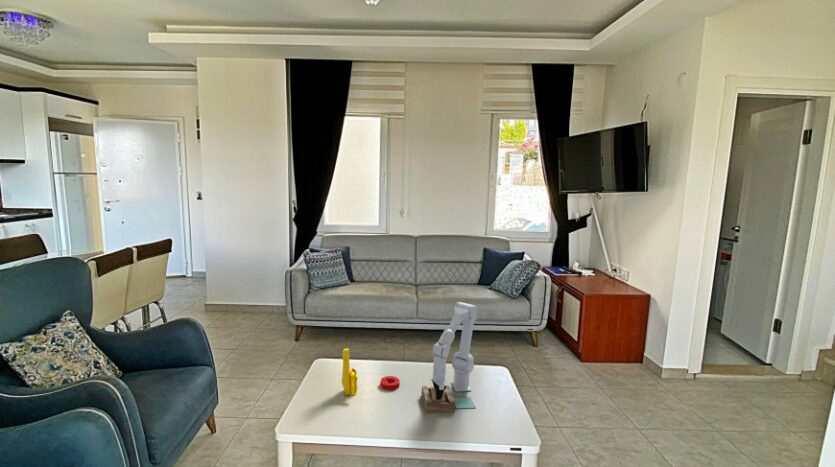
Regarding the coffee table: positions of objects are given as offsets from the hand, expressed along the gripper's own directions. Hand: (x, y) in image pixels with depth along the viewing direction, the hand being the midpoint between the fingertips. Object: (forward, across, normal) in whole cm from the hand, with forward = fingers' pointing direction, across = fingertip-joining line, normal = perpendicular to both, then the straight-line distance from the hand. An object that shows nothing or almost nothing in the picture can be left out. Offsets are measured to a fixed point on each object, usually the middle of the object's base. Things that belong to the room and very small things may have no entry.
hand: (437, 396), depth 195 cm
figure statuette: (+4, -12, -41) cm, 43 cm away
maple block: (+1, 0, 0) cm, 1 cm away
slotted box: (+4, 0, 0) cm, 4 cm away
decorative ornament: (+4, -18, -21) cm, 28 cm away
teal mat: (+3, 0, +12) cm, 13 cm away
